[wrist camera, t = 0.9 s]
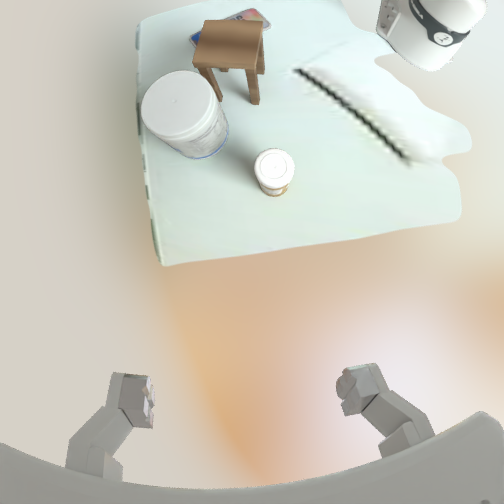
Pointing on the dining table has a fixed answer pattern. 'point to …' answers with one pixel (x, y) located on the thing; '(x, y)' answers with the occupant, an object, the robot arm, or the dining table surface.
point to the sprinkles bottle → (274, 171)
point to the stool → (231, 52)
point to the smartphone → (245, 15)
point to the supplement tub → (185, 114)
